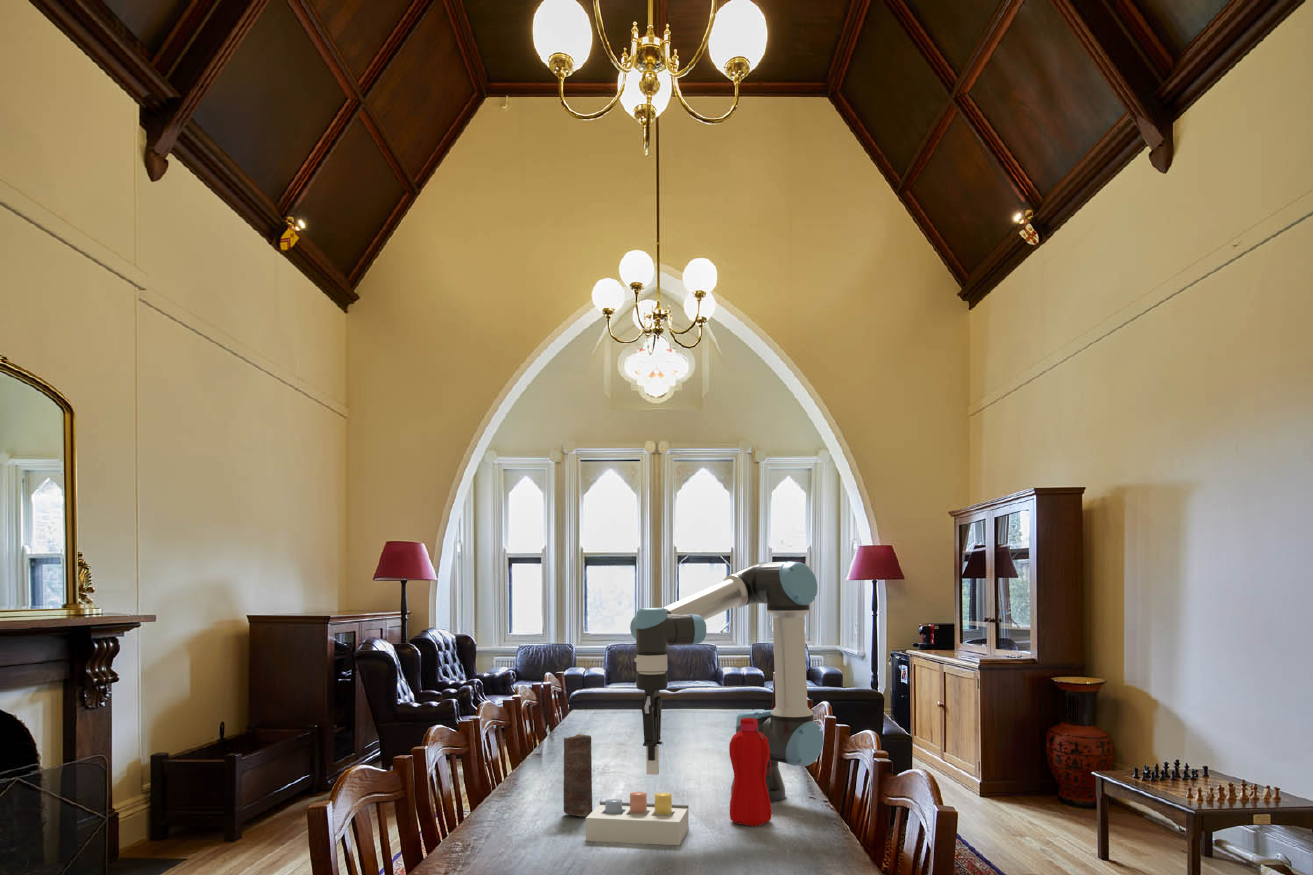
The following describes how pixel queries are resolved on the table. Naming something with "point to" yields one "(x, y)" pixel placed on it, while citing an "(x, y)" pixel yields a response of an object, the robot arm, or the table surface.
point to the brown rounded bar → (578, 775)
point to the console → (638, 825)
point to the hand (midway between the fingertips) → (652, 773)
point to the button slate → (613, 806)
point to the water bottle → (750, 775)
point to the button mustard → (663, 803)
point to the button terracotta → (638, 802)
